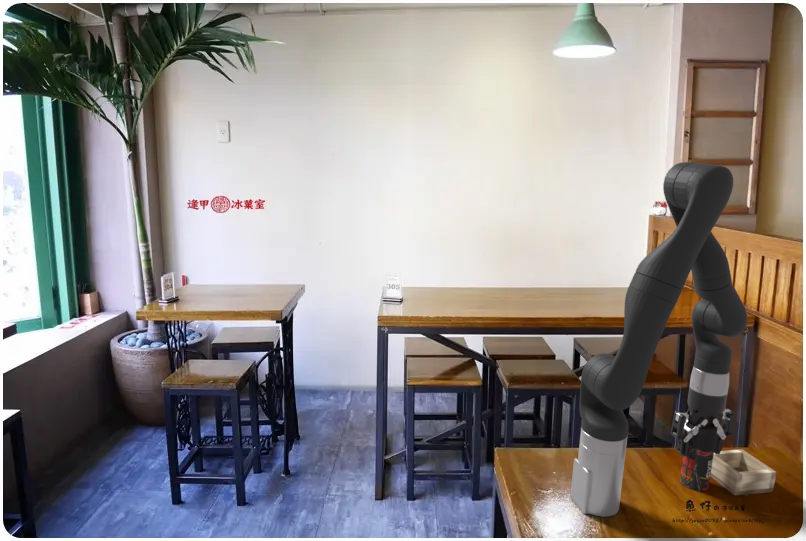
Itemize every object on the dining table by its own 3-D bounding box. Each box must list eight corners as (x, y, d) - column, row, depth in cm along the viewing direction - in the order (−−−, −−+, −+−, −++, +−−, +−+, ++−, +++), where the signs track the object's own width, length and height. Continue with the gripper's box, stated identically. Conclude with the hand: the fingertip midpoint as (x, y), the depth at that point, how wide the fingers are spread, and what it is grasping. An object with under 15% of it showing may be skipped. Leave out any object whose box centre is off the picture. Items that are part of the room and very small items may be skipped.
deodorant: (683, 473, 132) (691, 415, 129) (711, 482, 128) (720, 423, 125) (677, 484, 128) (685, 424, 125) (705, 494, 124) (714, 433, 121)
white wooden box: (734, 495, 124) (737, 475, 123) (703, 470, 133) (706, 452, 132) (772, 491, 126) (776, 472, 125) (739, 467, 135) (742, 449, 134)
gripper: (691, 396, 118) (681, 464, 122) (749, 393, 121) (738, 460, 124) (669, 382, 126) (660, 447, 129) (724, 379, 128) (714, 443, 131)
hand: (698, 453), depth 127 cm, fingers open, 8 cm apart
